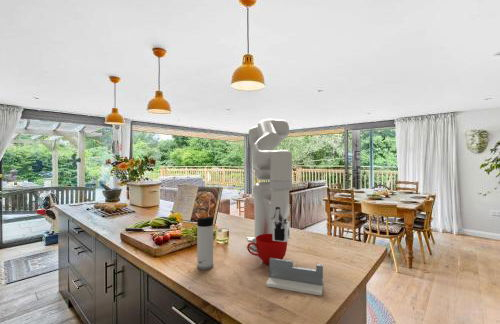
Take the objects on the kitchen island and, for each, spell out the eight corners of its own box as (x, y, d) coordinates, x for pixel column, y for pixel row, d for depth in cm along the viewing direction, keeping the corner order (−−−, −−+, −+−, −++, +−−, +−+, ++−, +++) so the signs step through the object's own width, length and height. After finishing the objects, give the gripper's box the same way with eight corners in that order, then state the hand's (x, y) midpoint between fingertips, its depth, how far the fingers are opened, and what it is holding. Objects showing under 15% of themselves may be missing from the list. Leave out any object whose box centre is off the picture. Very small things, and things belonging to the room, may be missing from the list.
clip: (272, 240, 86) (272, 223, 86) (275, 236, 91) (275, 219, 91) (287, 242, 85) (286, 224, 85) (289, 237, 90) (289, 220, 90)
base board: (266, 286, 85) (266, 282, 85) (273, 273, 94) (273, 270, 94) (321, 295, 79) (321, 291, 79) (323, 281, 88) (323, 277, 88)
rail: (269, 277, 89) (269, 259, 89) (270, 276, 90) (270, 257, 90) (322, 285, 83) (322, 266, 83) (322, 284, 84) (322, 264, 84)
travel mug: (200, 271, 96) (199, 219, 96) (195, 265, 102) (195, 215, 102) (215, 268, 99) (215, 217, 99) (210, 262, 105) (210, 214, 105)
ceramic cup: (243, 259, 108) (243, 235, 108) (279, 254, 113) (279, 232, 113) (251, 271, 96) (251, 245, 96) (292, 266, 101) (292, 241, 101)
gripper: (276, 183, 97) (276, 230, 97) (263, 187, 81) (263, 244, 81) (295, 183, 95) (295, 232, 95) (287, 188, 79) (287, 246, 79)
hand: (281, 237), depth 88 cm, fingers closed on clip, 5 cm apart
